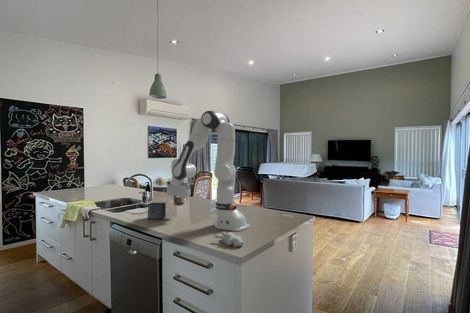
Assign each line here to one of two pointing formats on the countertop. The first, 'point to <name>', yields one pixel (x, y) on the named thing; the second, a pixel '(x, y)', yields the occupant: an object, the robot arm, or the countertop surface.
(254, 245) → the countertop surface
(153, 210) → the small box
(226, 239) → the bunny figurine
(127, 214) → the countertop surface
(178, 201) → the walnut cube
